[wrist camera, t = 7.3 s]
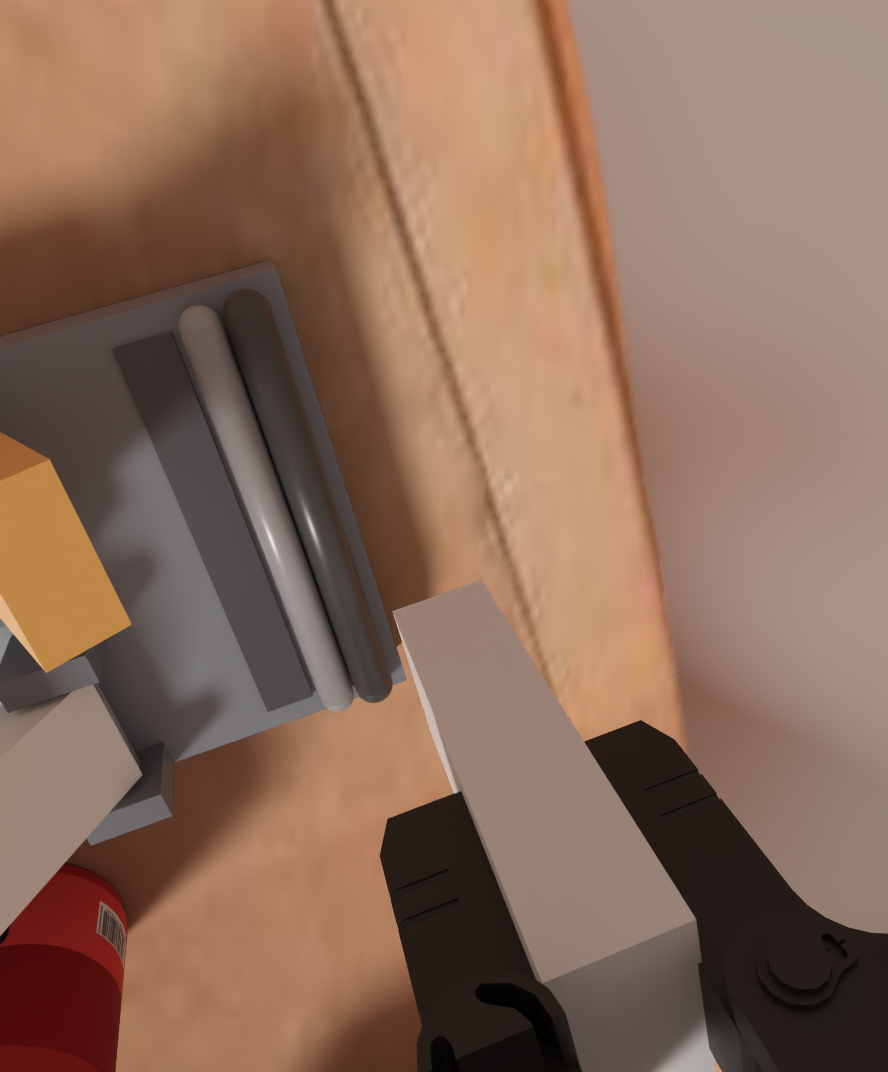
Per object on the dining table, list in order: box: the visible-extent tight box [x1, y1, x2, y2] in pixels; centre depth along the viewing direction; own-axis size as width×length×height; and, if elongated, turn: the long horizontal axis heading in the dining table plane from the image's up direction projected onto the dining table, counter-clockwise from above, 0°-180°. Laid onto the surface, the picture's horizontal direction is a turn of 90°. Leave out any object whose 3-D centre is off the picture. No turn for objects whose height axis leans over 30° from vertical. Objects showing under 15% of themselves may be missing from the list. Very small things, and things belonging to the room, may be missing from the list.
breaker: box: [0, 683, 142, 936], centre depth 29 cm, size 5×2×10 cm
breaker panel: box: [0, 260, 407, 846], centre depth 31 cm, size 18×24×6 cm
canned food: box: [0, 864, 127, 1072], centre depth 35 cm, size 8×8×11 cm
